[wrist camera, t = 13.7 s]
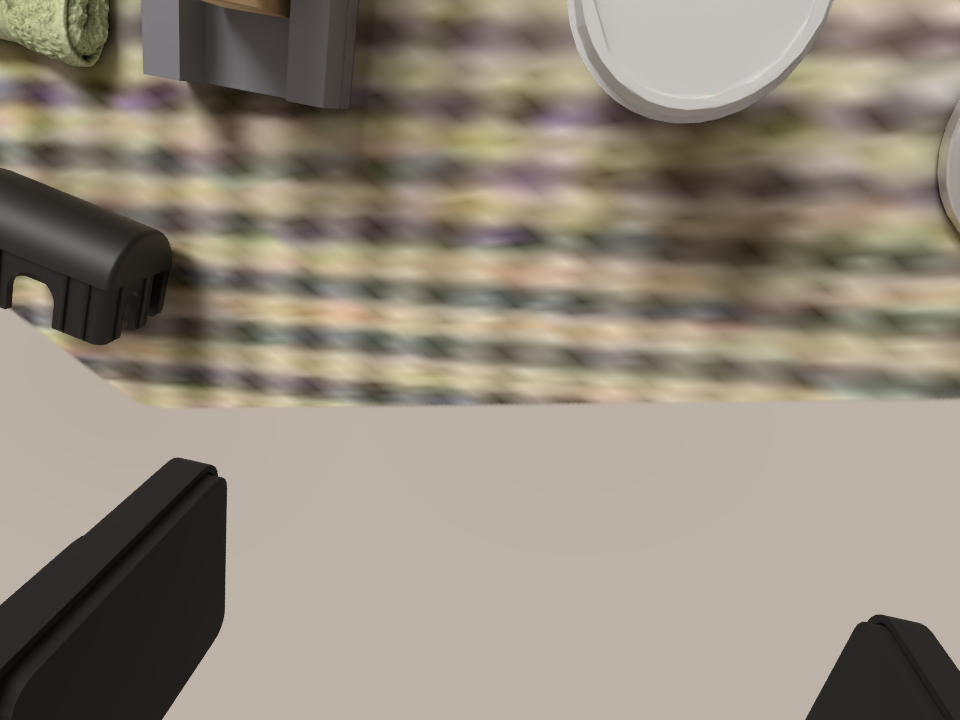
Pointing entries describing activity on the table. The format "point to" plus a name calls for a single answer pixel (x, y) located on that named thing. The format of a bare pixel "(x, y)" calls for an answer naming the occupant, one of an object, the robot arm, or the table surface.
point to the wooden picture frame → (257, 6)
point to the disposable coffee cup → (693, 51)
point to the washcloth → (57, 28)
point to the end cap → (80, 259)
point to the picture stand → (255, 48)
